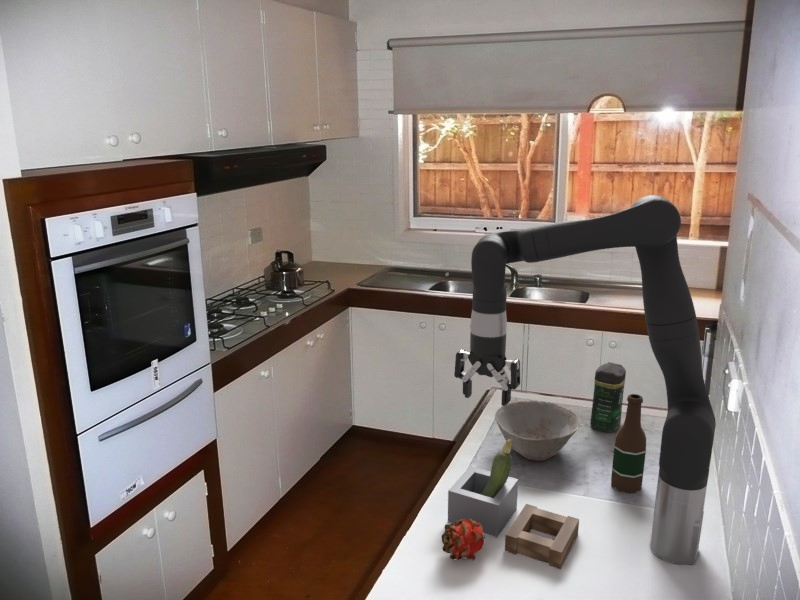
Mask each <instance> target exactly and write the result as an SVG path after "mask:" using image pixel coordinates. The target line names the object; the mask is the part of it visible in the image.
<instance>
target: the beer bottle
mask: <svg viewBox="0 0 800 600" xmlns="http://www.w3.org/2000/svg"><path fill="white" fill-rule="evenodd" d="M626 400H627V407H626V413H625V417H624V418H625V419H624V422H623V424H622V425H621V426H619V427H618V430H617V432H616V434H615V438H614V446H613V455H612V456H613V457H612V465H611V466H612V467H611V476H610V477H611V478H610V479H611V481H610V485H611V486H612V487H613V488H614V489H616V490H617V491H618V492H621V493H626V494H627V493H628V494H631V493H632V494H635V493H638V492H641V490H642V486H643V481H644V480H643V479H644V478H643V477H644V470H645V461H646V453H647V436H646V433H645V431H644V429H643V428H642V427H643V426H642V422H641V419H642V404H643V402H644V398H643V396H642V395H640V394H637V393H631V394H628V395H627V399H626ZM637 491H638V492H637Z"/></svg>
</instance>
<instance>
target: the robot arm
mask: <svg viewBox="0 0 800 600" xmlns="http://www.w3.org/2000/svg"><path fill="white" fill-rule="evenodd" d="M681 218H682V217H681V214H680V211H679V210H678V208H677V206H676V205H675V204H674V203H672V202H671V201H670V200H669V199H667V198H665V197H663V196H661V195H656V194H655V195H654V194H648V195H646V196H642V197H640V198H638V199H637V200H636V201H635V202H633V204H632V205H631V207H629V208H626V209H624V210H623V209H622V210H621V211H617V212H615V213H612V214H607V215H602V216H598V217H593V218H584V219H575V220H564V221H558V222H553V223H547V224H542V225H538V226H534V227H532V226H531V227H528V228H525V229H520V230H507V231H505V230H504V231H498V232H494V233H488V234H486V235H484V236H482V237H481V238H480V239H479V240H478V241H477V242H476V244H475V245H474V247H473V249H472V251H471V257H470V258H471V260H470V261H471V262H470V263H471V268H470V269H471V277H472V278H471V279H472V286H473V287H472V288H473V289H472V301H471V302H472V304H471V305H472V306H471V317H470V323H469V324H470V325H469V329H470V339H469V343H470V345H469V350H470V352H468V351H466V350H465V349H464V348H462V349H460V350H459V351H458V352H456V353H455V361H454V374H453V375H454V377H455V378H457V379H460V380H461V381H462V395H464V398H467V399H469V398H470V397H471V396H472V392H473V391H472V390H473V387H472V386H473V379H472V377H473V376H474V375H475V374H476V373H477V374H478V376H487V377H489V378H493V377H494V379H495V381H496V382H497V383H499V385H500V386H501V388H502V389H501V407H502V406H506V405H507V404H509V403H511V402H510V401H511V399H512V397H511V396H512V390H516V389H517V388H518V387H519V386H520V385H521V361H520V359H518V358H515V359H514V360H512V359H507V357H506V350H507V349H506V347H507V327H508V325H507V324H508V323H507V322H508V318H507V294H508V293H507V286H506V285H505V283H506V282H505V281H506V267H507V264H512V263H519V262H526V263H528V264H529V263H531V264H534V263H540V262H545V261H550V260H556V259H560V258H564V257H569V256H574V255H579V254H583V253H588V252H594V251H600V250H608V249H619V248H631V247H633V248H634V247H635V250H636V254H637V258H638V262H639V266H640V267H639V268H640V273H641V288H642V289H641V290H642V300H643V311H644V312H643V313H644V319H645V324H646V330H647V335H648V340H649V344H650V345H649V346H650V348H651V350H652V351H651V352H652V353H653V355H654V357H655V360H656V361H657V362H656V363H657V364H658V365H659V368H660V370H661V373H662V375H663V378H664V379H663V380H664V383H665V389H666V399H667V402H666V403H667V413H666V417H665V421H664V423H663V427H662V431H661V432H662V433H661V442H660V449H659V450H660V451H659V460H658V466H659V467H658V468H659V469H658V476H657V485H656V493H655V502H654V509H653V510H654V511H653V517H652V518H653V519H652V526H651V533H650V542H649V543H650V544H649V547H650V550H651V551H652V552H653V554H654V555H656V557H658V558H660V560H661V559H662V560H663V561H665V562H668V563H672V564H677V565H678V564H679V565H686V564H687V565H696V562H697V558H698V553H699V548H700V541H701V534H702V528H703V520H704V514H705V513H704V512H705V510H704V509H705V500H706V494H707V486H708V482H709V481H708V480H709V475H710V466H711V460H712V453H713V448H714V447H713V445H714V438H715V432H716V428H717V427H716V426H717V425H716V417H715V412H714V410H713V407H712V403H711V401H710V398H709V394H708V390H707V387H706V384H705V379H704V374H703V361H702V360H703V358H702V348H701V339H700V332H699V326H698V325H699V324H698V320H697V314H696V310H695V305H694V302H693V298H692V294H691V291H690V289H689V285H688V283H687V280H686V277H685V275H684V272H683V269H682V265H681V261H680V257H679V255H680V254H679V247H678V245H679V244H678V237H677V235H678V233H679V231H680V228H681V225H682V219H681ZM467 360H468V361H469V363H470V364H471V367H470V368H469V369H468V371H465V362H466V361H467ZM506 366H507V369H508V371H510V378H509V375H508V373H507V371H506V369H505V367H506Z"/></svg>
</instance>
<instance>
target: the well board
mask: <svg viewBox="0 0 800 600" xmlns="http://www.w3.org/2000/svg"><path fill="white" fill-rule="evenodd" d="M579 525H580V519H579V518H576V517H574V516H570V515H567V516H565V515H562V514H559V513H555V512H552V511H548V510H545V509H542V508H538V507H537V506H535V505H532V504H528V503H525V505H524V506H523V508H522V509H521V511H520V512H519V514H518V515H517V517H516V518H515V520H514V521H513V523H512V524H511V526H510V528H508V530H507V531H506V533H505V540H504V552H507V553H510V554H512V555H517V554H518V555H521V556H524V557H527V558H530V559H533V560H536V561H539V562H542V563H545V564H548V566H549V567H552V568H555V569H558V570H561V569H562V567H563V565H564V564H565V561H566V559H567V558H568V555H570V554H569V553H570V551H571V549H572V548H573V546H574V543H575V542H576V540H577V538H578V535H579V527H580V526H579ZM532 530H534V531H535V532H539V533H542V534H545V535H549V536H552V537H555V538H554V540H553V539H550V538H547V537H544V536H541V535H537V534H534V533H531V531H532Z"/></svg>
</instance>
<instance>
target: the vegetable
mask: <svg viewBox="0 0 800 600" xmlns="http://www.w3.org/2000/svg"><path fill="white" fill-rule="evenodd" d="M505 441H506V440H505ZM511 441H512V440H510V439H508V441H506V442H505V443H503V445H502V451H500V452H498V453H497V454H496V455H495V456H494V458H493V460H492V464H491V469H490V472H491V474H490V478H489V480H488V483H487V485H486V487H485V489H484V490H483V492H482V494H481V495H484V496H487V497H491V498H494V497H495V496H496V495H497V493H498V492H499V491H500V489H501V488H502V487H503V486H504V484H505V482H506V480H507V479H508V477H510V473H511V470H512V467H513V457H512V455H511V454H510V453H511V450H512V448H511V445H512V443H511Z"/></svg>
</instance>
